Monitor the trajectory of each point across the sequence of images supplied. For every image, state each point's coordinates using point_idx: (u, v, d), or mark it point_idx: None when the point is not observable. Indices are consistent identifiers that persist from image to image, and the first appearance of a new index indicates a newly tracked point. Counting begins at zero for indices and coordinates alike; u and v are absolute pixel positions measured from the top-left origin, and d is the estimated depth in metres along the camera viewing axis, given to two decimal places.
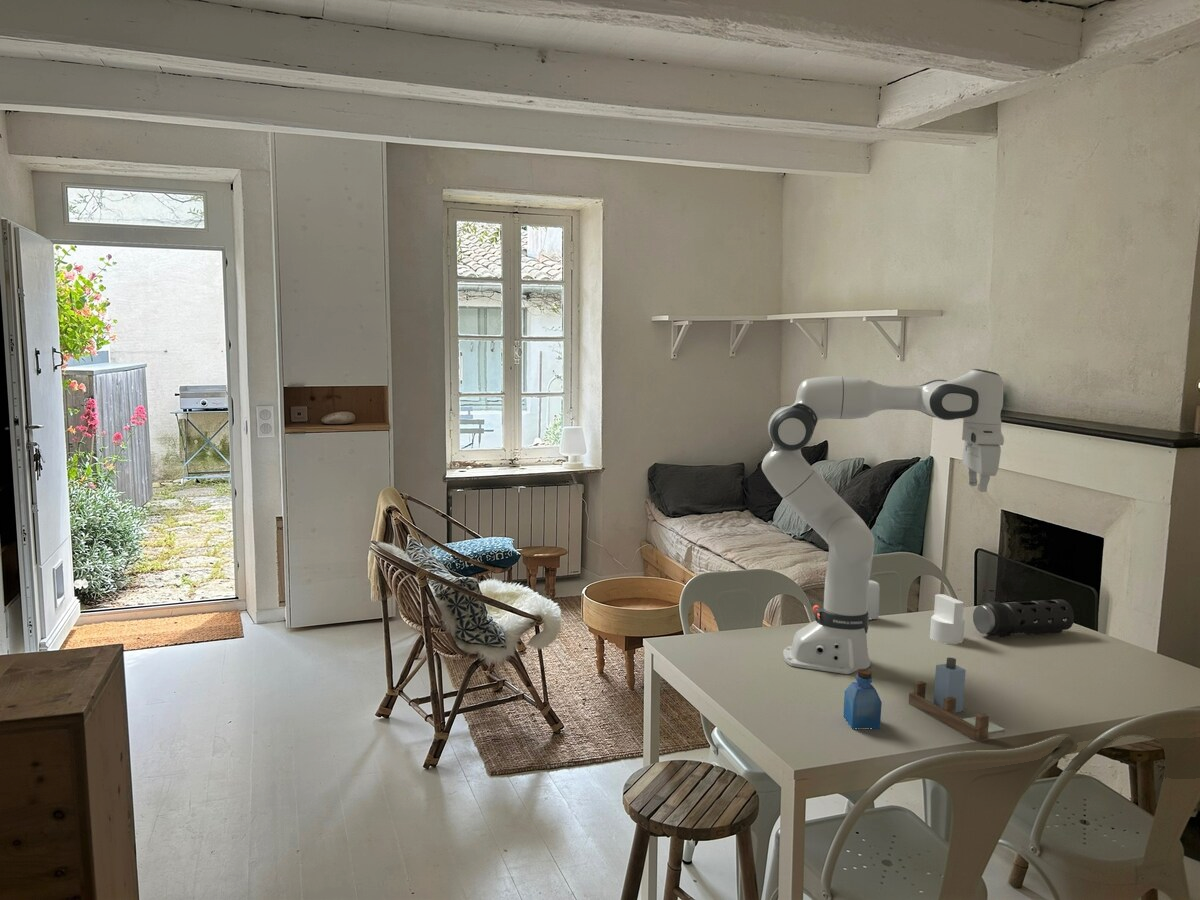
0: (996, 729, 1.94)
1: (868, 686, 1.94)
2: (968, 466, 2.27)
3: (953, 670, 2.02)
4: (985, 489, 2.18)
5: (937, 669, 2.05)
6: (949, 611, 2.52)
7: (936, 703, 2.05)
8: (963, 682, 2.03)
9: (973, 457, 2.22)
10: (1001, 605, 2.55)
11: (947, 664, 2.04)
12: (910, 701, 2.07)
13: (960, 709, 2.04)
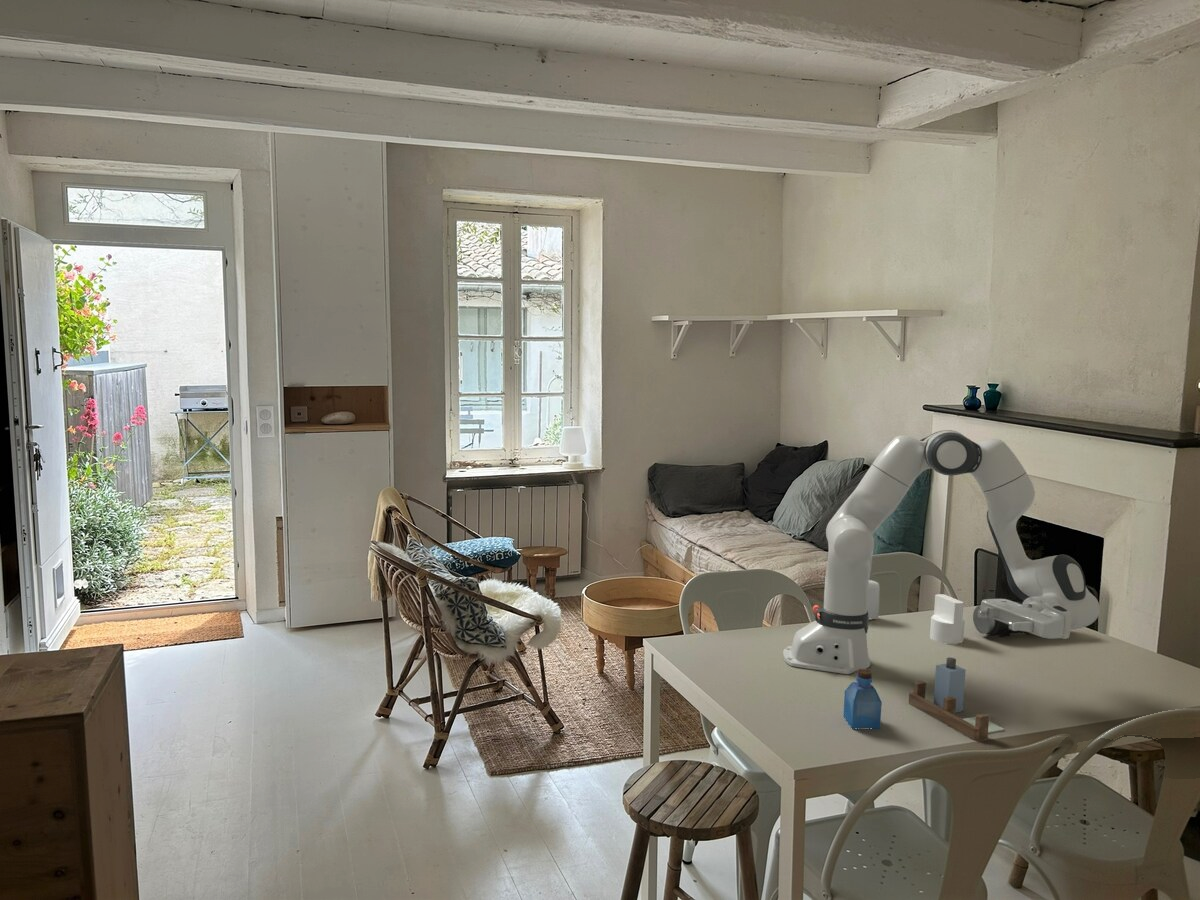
0: (996, 729, 1.94)
1: (868, 686, 1.94)
2: (1003, 607, 2.11)
3: (953, 670, 2.02)
4: (1015, 629, 2.02)
5: (937, 669, 2.05)
6: (949, 611, 2.52)
7: (936, 703, 2.05)
8: (963, 682, 2.03)
9: (1026, 611, 2.08)
10: None
11: (947, 664, 2.04)
12: (910, 701, 2.07)
13: (960, 709, 2.04)
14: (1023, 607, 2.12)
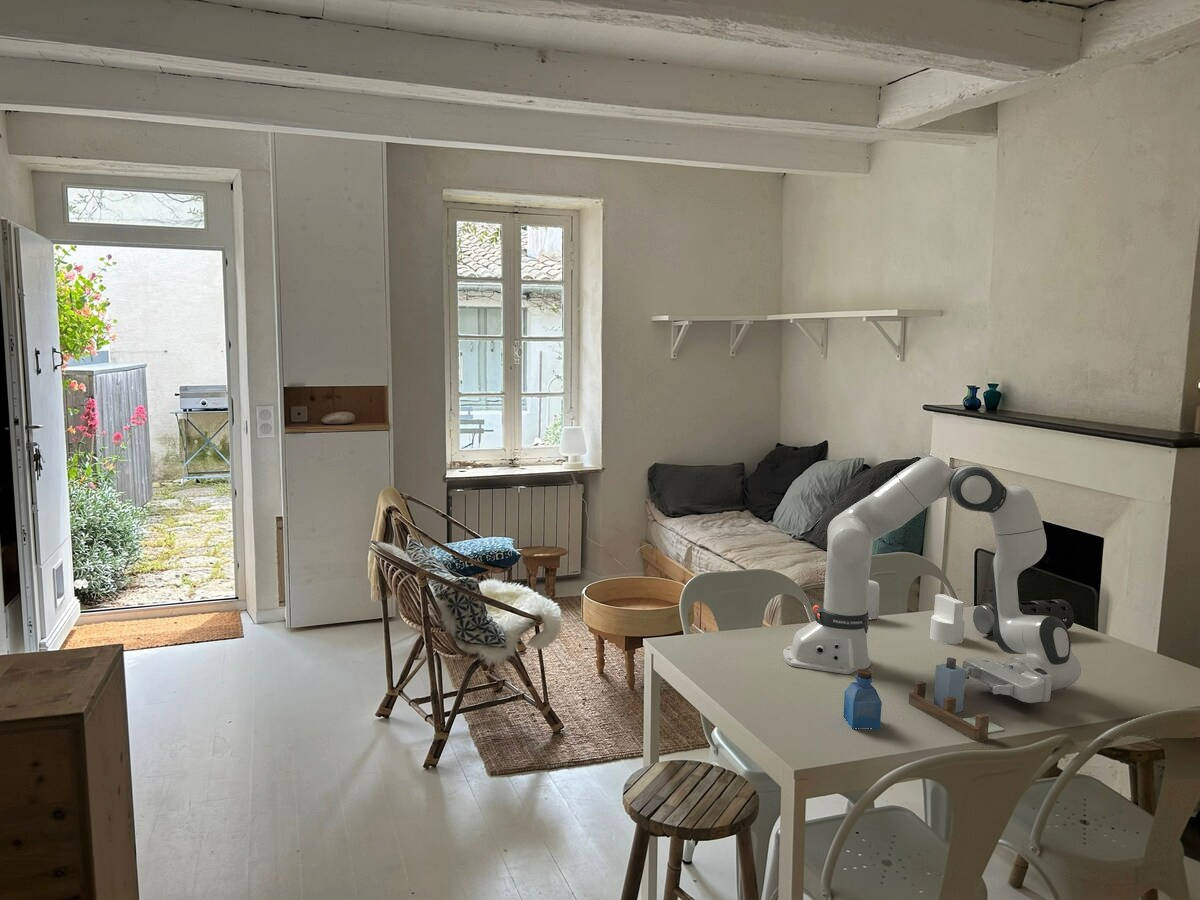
0: (996, 729, 1.94)
1: (868, 686, 1.94)
2: (984, 668, 2.12)
3: (953, 670, 2.02)
4: (996, 692, 2.03)
5: (937, 669, 2.05)
6: (949, 611, 2.52)
7: (936, 703, 2.05)
8: (963, 682, 2.03)
9: (1007, 673, 2.09)
10: None
11: (947, 664, 2.04)
12: (910, 701, 2.07)
13: (960, 709, 2.04)
14: (1004, 668, 2.12)
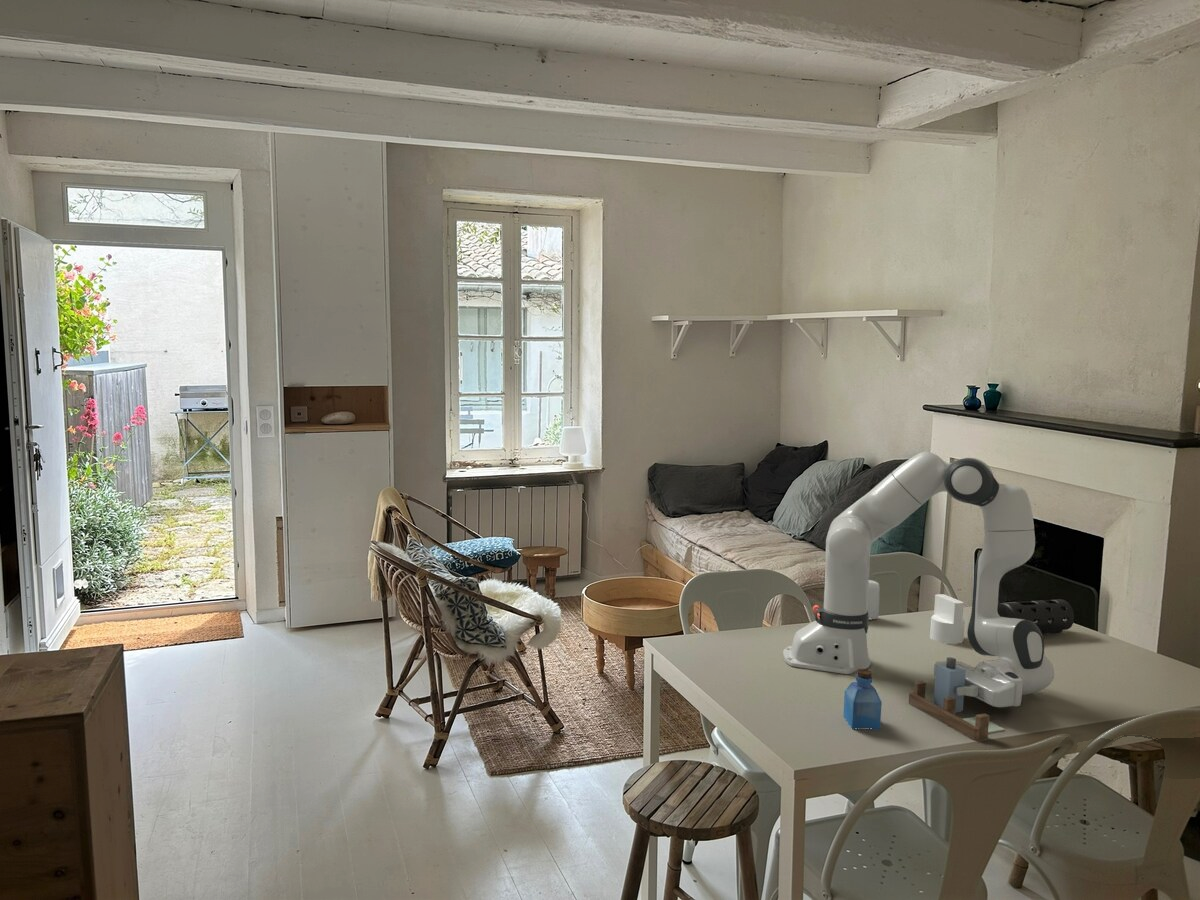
0: (996, 729, 1.94)
1: (868, 686, 1.94)
2: None
3: (953, 670, 2.02)
4: (960, 694, 2.01)
5: (936, 669, 2.05)
6: (949, 611, 2.52)
7: (936, 703, 2.05)
8: (963, 682, 2.03)
9: (978, 676, 2.06)
10: (1001, 605, 2.55)
11: (947, 664, 2.04)
12: (910, 701, 2.07)
13: (960, 709, 2.04)
14: (976, 671, 2.09)
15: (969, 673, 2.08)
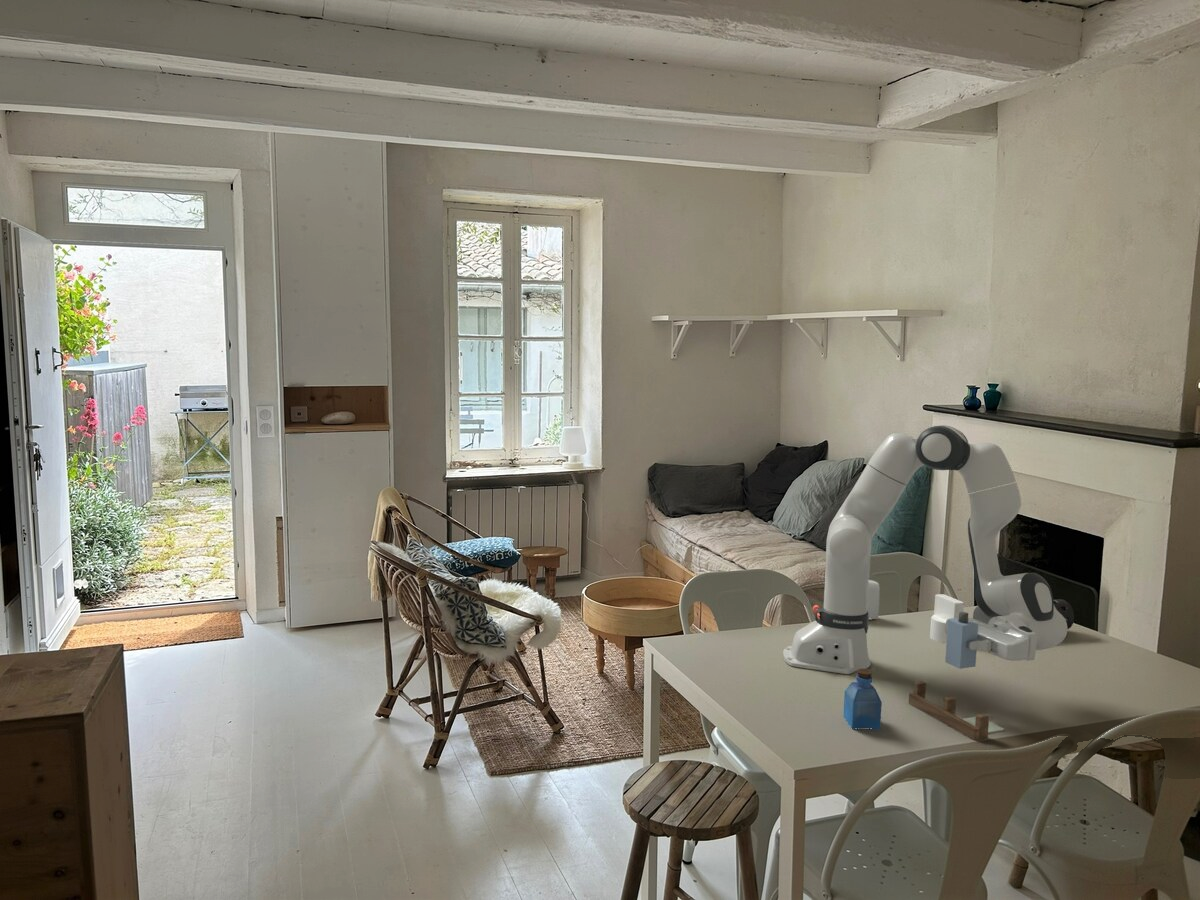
0: (996, 729, 1.94)
1: (868, 686, 1.94)
2: None
3: (965, 624, 1.98)
4: (973, 648, 1.97)
5: (949, 623, 2.01)
6: (949, 611, 2.52)
7: (948, 658, 2.02)
8: (976, 636, 1.99)
9: (991, 631, 2.02)
10: None
11: (959, 618, 2.00)
12: (910, 701, 2.07)
13: (973, 664, 2.00)
14: (988, 627, 2.05)
15: (981, 628, 2.04)
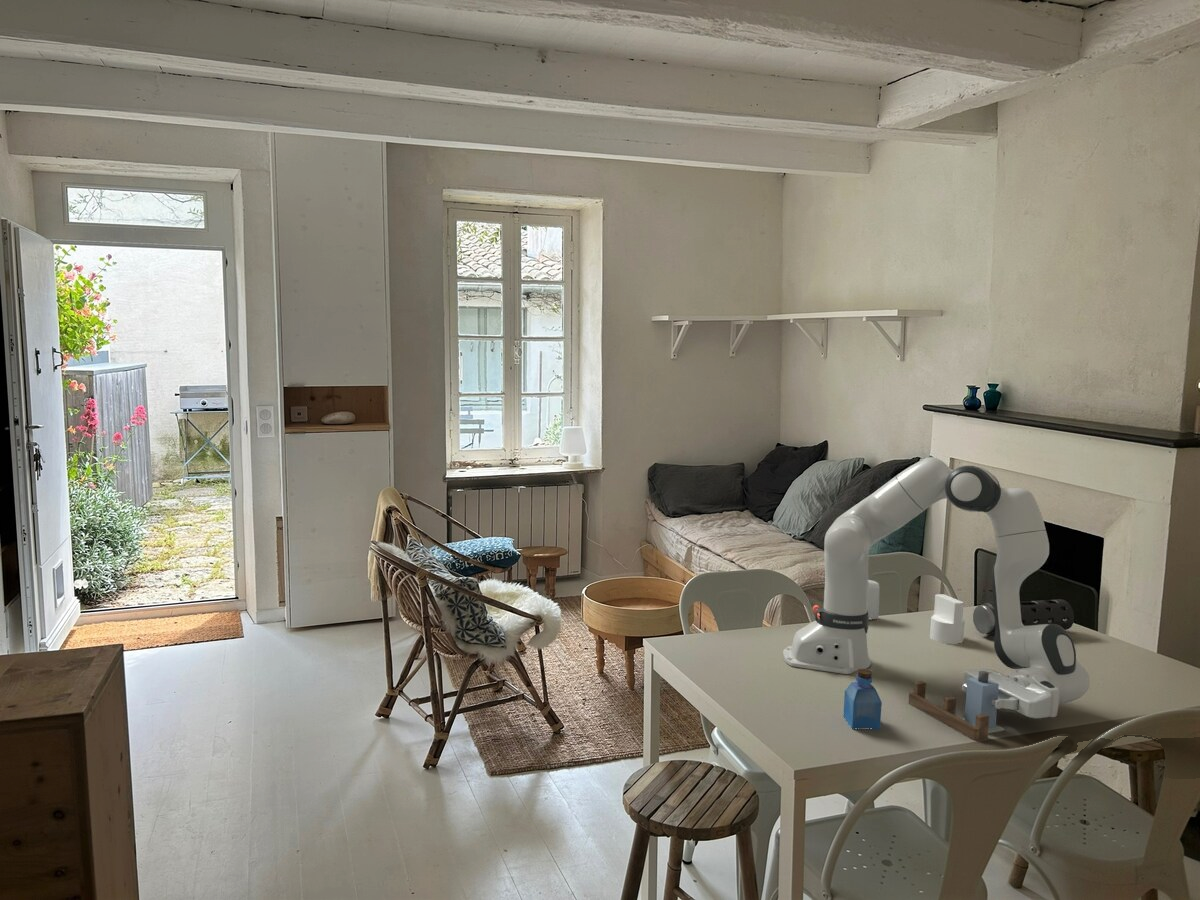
0: (996, 729, 1.94)
1: (868, 686, 1.94)
2: None
3: (986, 684, 1.93)
4: (998, 706, 1.91)
5: (968, 682, 1.96)
6: (949, 611, 2.52)
7: (967, 718, 1.96)
8: (996, 697, 1.94)
9: (1012, 686, 1.96)
10: None
11: (979, 678, 1.95)
12: (910, 701, 2.07)
13: (993, 725, 1.95)
14: (1009, 680, 2.00)
15: (1002, 682, 1.99)
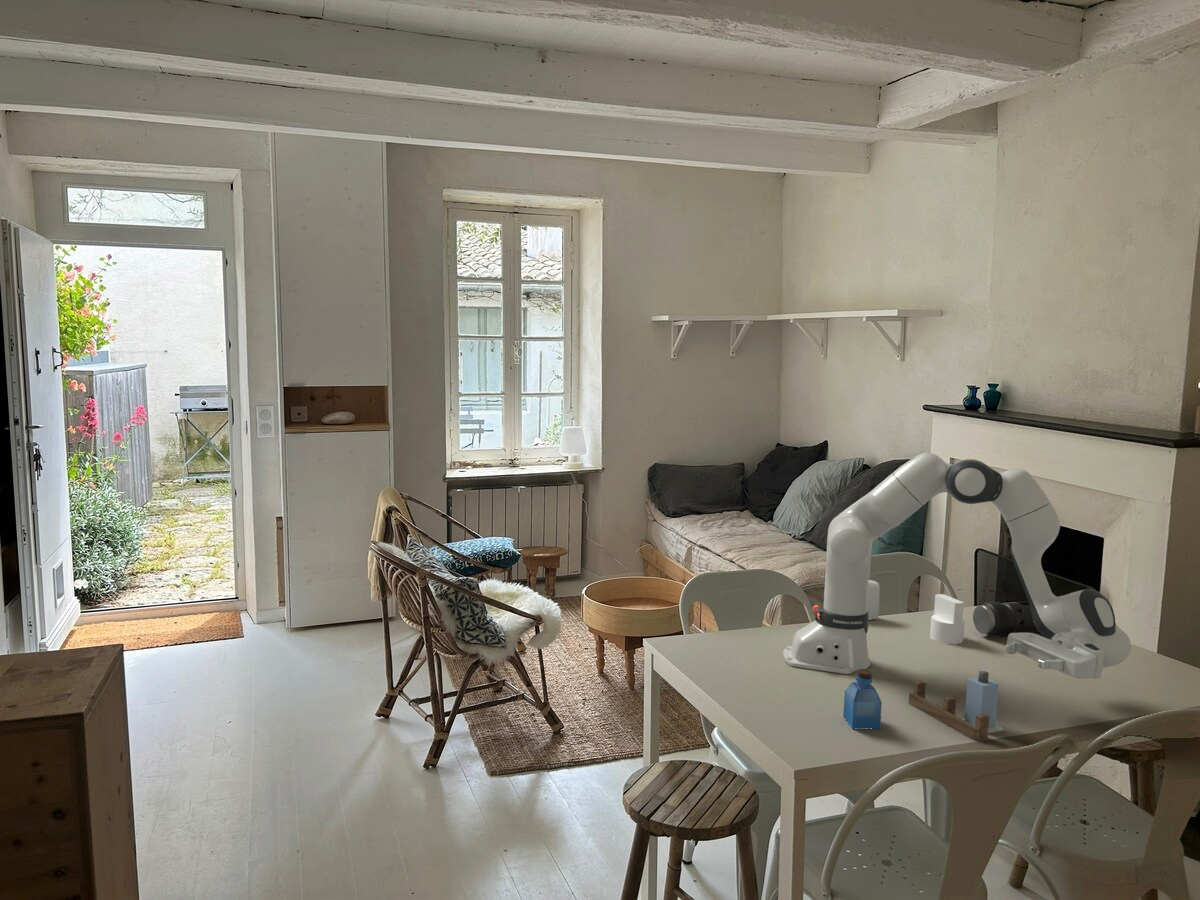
0: (996, 729, 1.94)
1: (868, 686, 1.94)
2: (1031, 643, 2.03)
3: (986, 684, 1.93)
4: (1045, 667, 1.94)
5: (968, 682, 1.96)
6: (949, 611, 2.52)
7: (967, 718, 1.96)
8: (996, 697, 1.94)
9: (1056, 648, 2.00)
10: (1001, 605, 2.55)
11: (979, 678, 1.95)
12: (910, 701, 2.07)
13: (993, 725, 1.95)
14: (1052, 643, 2.04)
15: (1046, 644, 2.02)
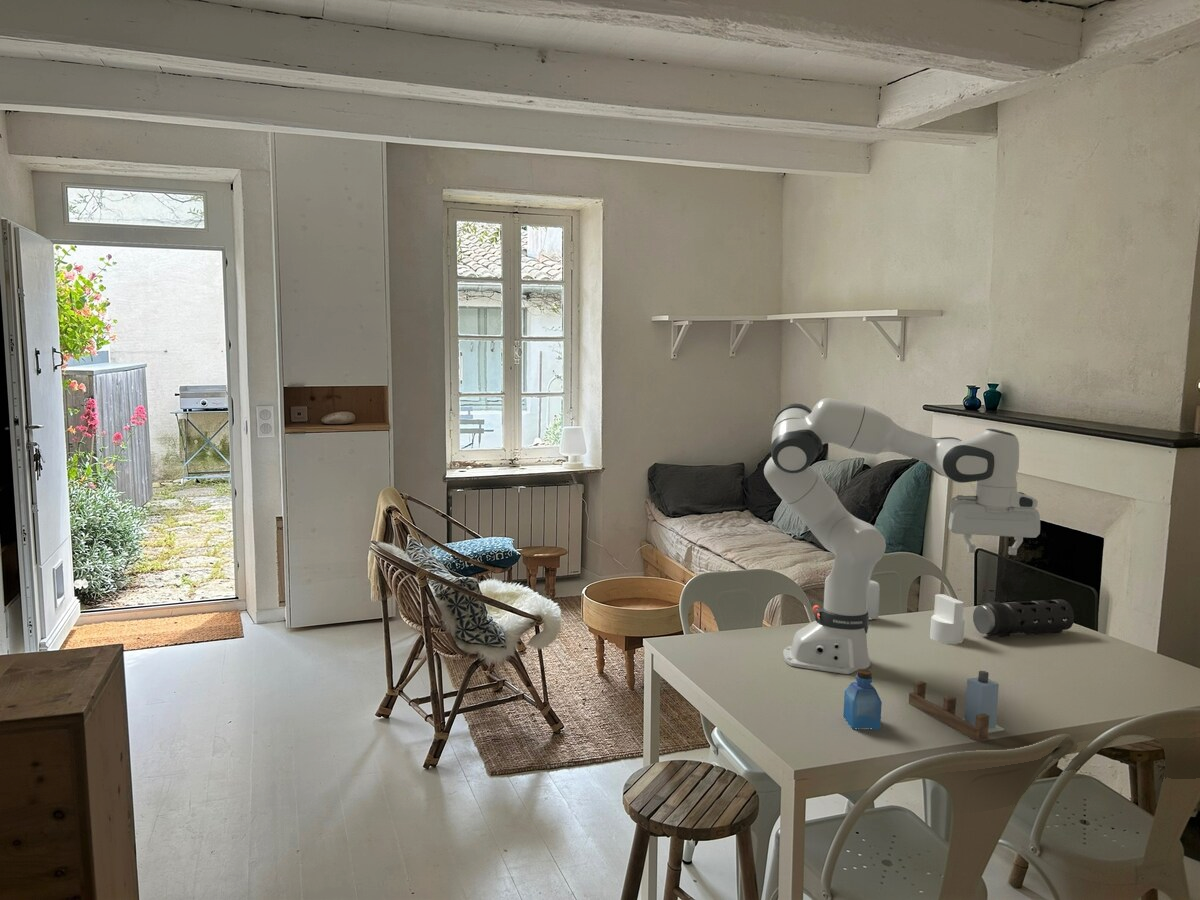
0: (996, 729, 1.94)
1: (868, 686, 1.94)
2: (982, 533, 2.12)
3: (986, 684, 1.93)
4: None
5: (968, 682, 1.96)
6: (949, 611, 2.52)
7: (967, 718, 1.96)
8: (996, 697, 1.94)
9: (1002, 522, 2.11)
10: (1001, 605, 2.55)
11: (979, 678, 1.95)
12: (910, 701, 2.07)
13: (993, 725, 1.95)
14: (989, 512, 2.11)
15: (991, 523, 2.11)
